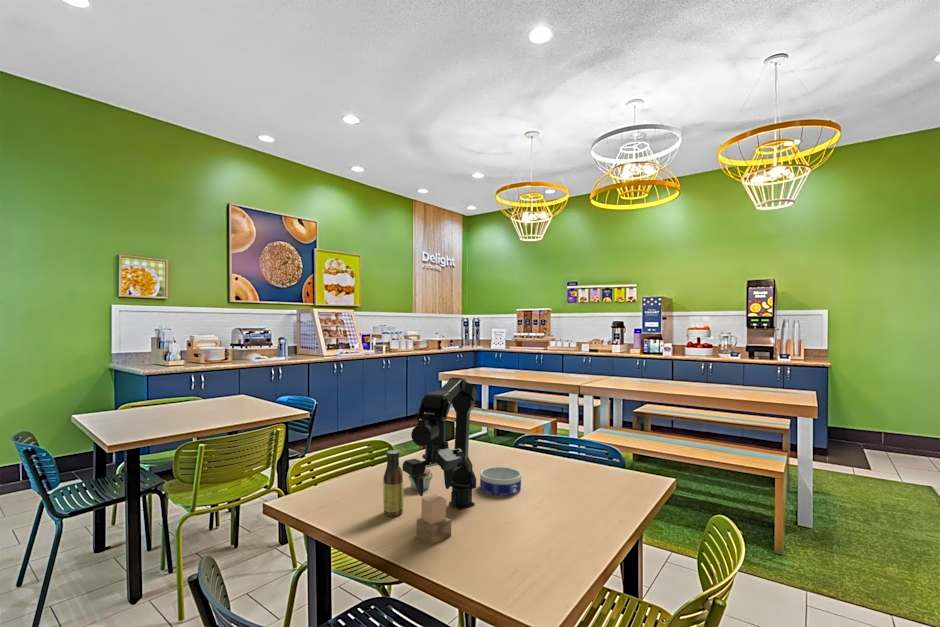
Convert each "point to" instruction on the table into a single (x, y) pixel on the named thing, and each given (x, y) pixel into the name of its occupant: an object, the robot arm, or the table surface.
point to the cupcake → (425, 481)
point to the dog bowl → (500, 481)
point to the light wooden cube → (433, 509)
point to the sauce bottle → (393, 485)
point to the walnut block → (434, 530)
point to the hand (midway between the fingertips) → (434, 492)
